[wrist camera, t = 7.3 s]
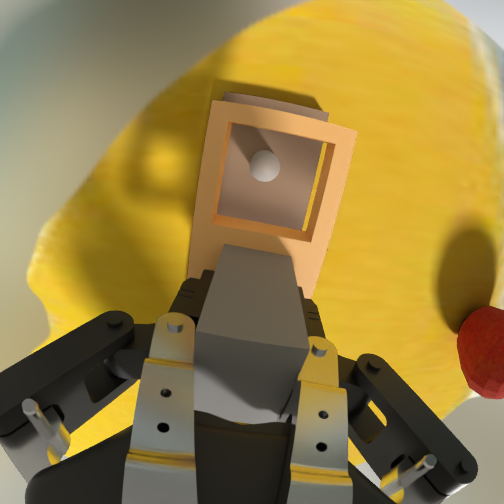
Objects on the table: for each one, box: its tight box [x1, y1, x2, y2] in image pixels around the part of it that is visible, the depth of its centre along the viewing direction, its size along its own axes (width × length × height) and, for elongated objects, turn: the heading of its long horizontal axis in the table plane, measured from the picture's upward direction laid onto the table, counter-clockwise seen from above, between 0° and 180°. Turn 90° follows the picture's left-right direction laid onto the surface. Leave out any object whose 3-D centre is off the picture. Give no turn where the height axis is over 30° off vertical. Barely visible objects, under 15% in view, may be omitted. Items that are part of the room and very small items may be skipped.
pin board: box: [217, 92, 329, 231], centre depth 21 cm, size 20×8×6 cm, turn 169°
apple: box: [457, 306, 504, 399], centre depth 22 cm, size 10×10×14 cm
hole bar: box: [187, 100, 357, 424], centre depth 11 cm, size 16×6×8 cm, turn 169°
